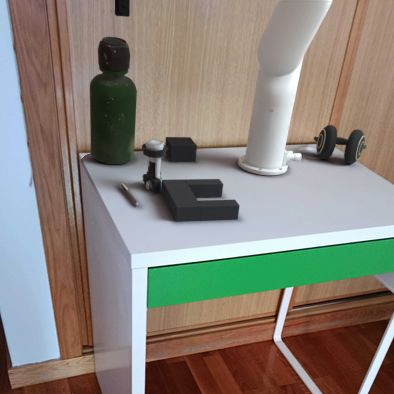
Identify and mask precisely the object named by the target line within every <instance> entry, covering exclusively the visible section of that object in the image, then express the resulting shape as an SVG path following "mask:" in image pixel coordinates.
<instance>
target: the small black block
mask: <svg viewBox="0 0 394 394" xmlns="http://www.w3.org/2000/svg"><path fill="white" fill-rule="evenodd" d="M164 141H165V144H164V145H165V146H167V151H166V155H165V156H166V157H167V159H168V161H169V162H170V163H196V161H197V160H196V159H197V151H198V150H197V148H198V146H197V144H196V143H195V141H194V140H193V139H192V137H190V136H165V140H164Z"/></svg>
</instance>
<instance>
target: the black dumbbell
mask: <svg viewBox="0 0 394 394" xmlns="http://www.w3.org/2000/svg"><path fill="white" fill-rule="evenodd" d="M313 140H314V141H315V142H316V146H315V147H316V148H315V149H316V153H317V155H318V157H319V158H320V159H321V160H328V159H330V158H331V157H332V155H333V153H334V151H335V149H336V145H337V146H345V147H344V152H343V159H344V162H345V163H346V164H349V165H353V164H355V163H356V162H357V161H359V160H360V158H361V157H362V154H363V151H364V150H365V149H367V145H366V136H365V133H364V132H363V131H362V129H358V128H356V129H354V130H352V131H351V133H350V134H349V136H348V138H344V137H341V136H338V129H337V127H336V126H335V125H333V124H328V125H326V126H325V127H323V128H322V129H321V130H320V132H319V133H318V136H314V137H313Z"/></svg>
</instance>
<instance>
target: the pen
mask: <svg viewBox="0 0 394 394" xmlns="http://www.w3.org/2000/svg"><path fill="white" fill-rule="evenodd" d="M120 187H121V188H122V190H123V191H124V192H125V194H126V195H127V196H128V198H129V199H130V200H131V201H132V202H133V203H134V204H135V205H136V206H137V207H139V206H140V204H139V202H138V200H137V199H136V198H135V197H134V195H133V194H132V193H131V192H130V190H129V188H128V187H127V186H126V185H125V184H124V182H122V183H120Z"/></svg>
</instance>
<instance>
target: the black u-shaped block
mask: <svg viewBox="0 0 394 394" xmlns="http://www.w3.org/2000/svg"><path fill="white" fill-rule="evenodd" d="M223 189H224V183H223V182H222V180H221V179H220V178H190V179H188V178H186V179H185V178H184V179H183V178H182V179H174V178H173V179H162V191H161V192H160V194H161V195H162V197H163V199H164V202H165V203H166V205H167V207H168V209H169V211H170V213H171V214H172V217H173V218H174V221H175V222H177V223H178V222H203V221H230V220H231V221H232V220H233V221H234V220H235V221H236V220H238V219H239V214H240V208H241V207H240V204H239V203H238V202H237V200H236V199H206V198H222V197H223V192H224V191H223ZM199 198H200V200H198V199H199ZM203 198H205V199H203ZM201 199H202V200H201Z"/></svg>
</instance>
